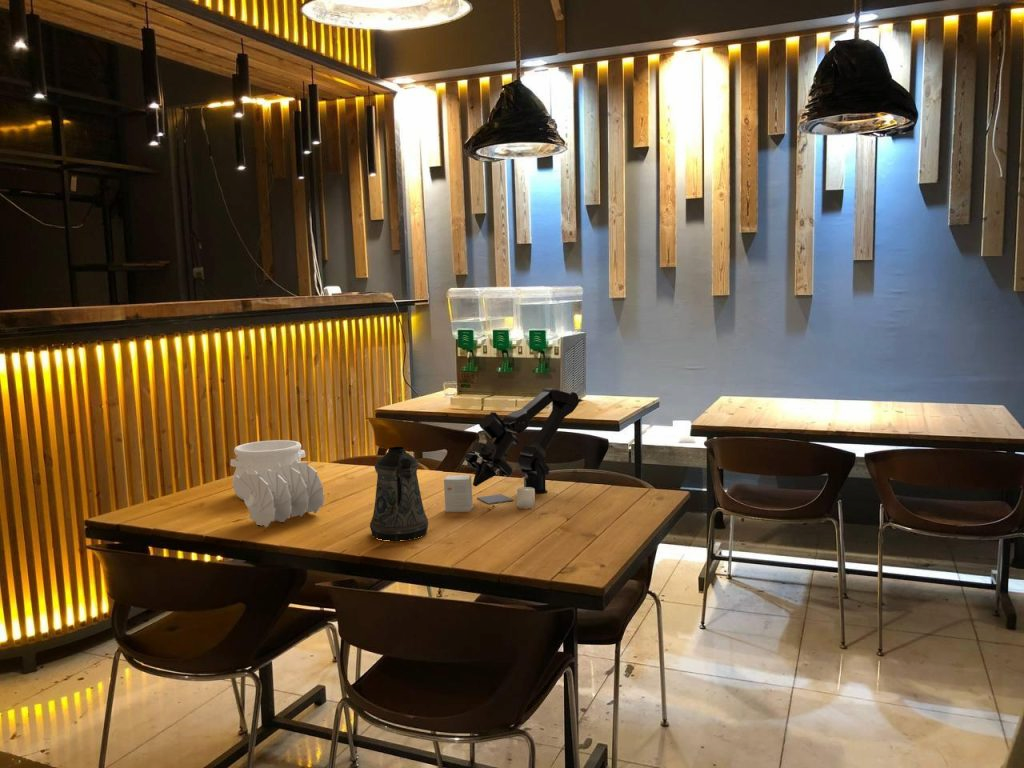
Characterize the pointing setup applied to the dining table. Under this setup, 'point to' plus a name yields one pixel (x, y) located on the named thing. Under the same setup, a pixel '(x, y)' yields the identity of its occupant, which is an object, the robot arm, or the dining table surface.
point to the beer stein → (398, 498)
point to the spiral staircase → (280, 492)
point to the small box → (458, 493)
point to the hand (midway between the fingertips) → (474, 485)
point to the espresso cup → (526, 497)
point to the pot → (265, 456)
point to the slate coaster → (495, 499)
